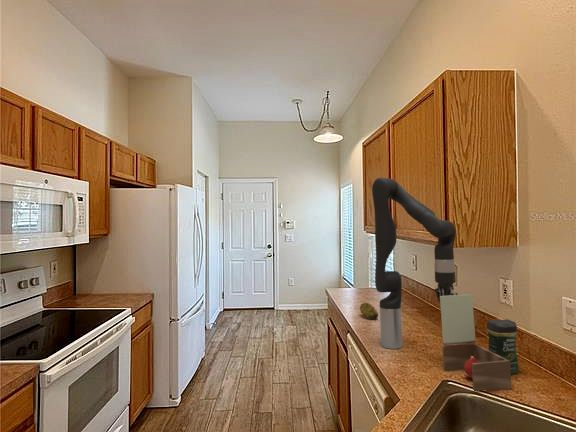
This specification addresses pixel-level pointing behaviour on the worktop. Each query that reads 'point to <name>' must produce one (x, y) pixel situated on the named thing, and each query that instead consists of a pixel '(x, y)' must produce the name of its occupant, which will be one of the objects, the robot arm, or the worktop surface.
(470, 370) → the onion
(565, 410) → the worktop surface
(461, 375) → the worktop surface
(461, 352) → the cubby
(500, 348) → the coffee jar
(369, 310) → the avocado
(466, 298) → the lid
